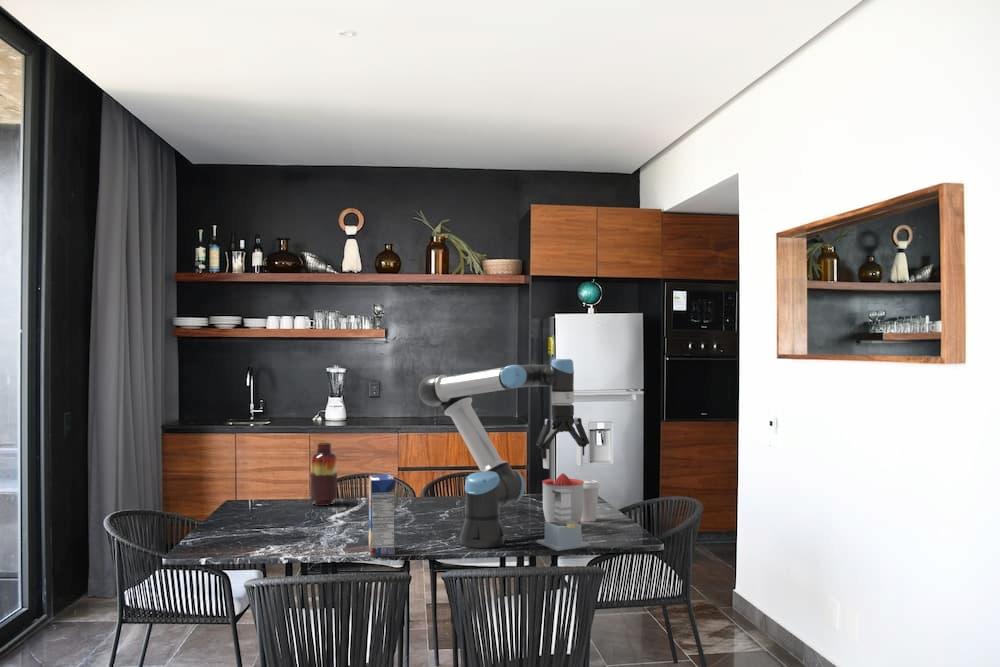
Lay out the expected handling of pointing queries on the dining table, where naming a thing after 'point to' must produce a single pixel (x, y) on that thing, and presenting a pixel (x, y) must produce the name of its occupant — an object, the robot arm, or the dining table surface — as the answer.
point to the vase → (323, 475)
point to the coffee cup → (590, 500)
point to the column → (562, 507)
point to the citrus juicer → (576, 497)
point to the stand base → (562, 536)
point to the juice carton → (381, 515)
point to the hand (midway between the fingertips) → (563, 467)
